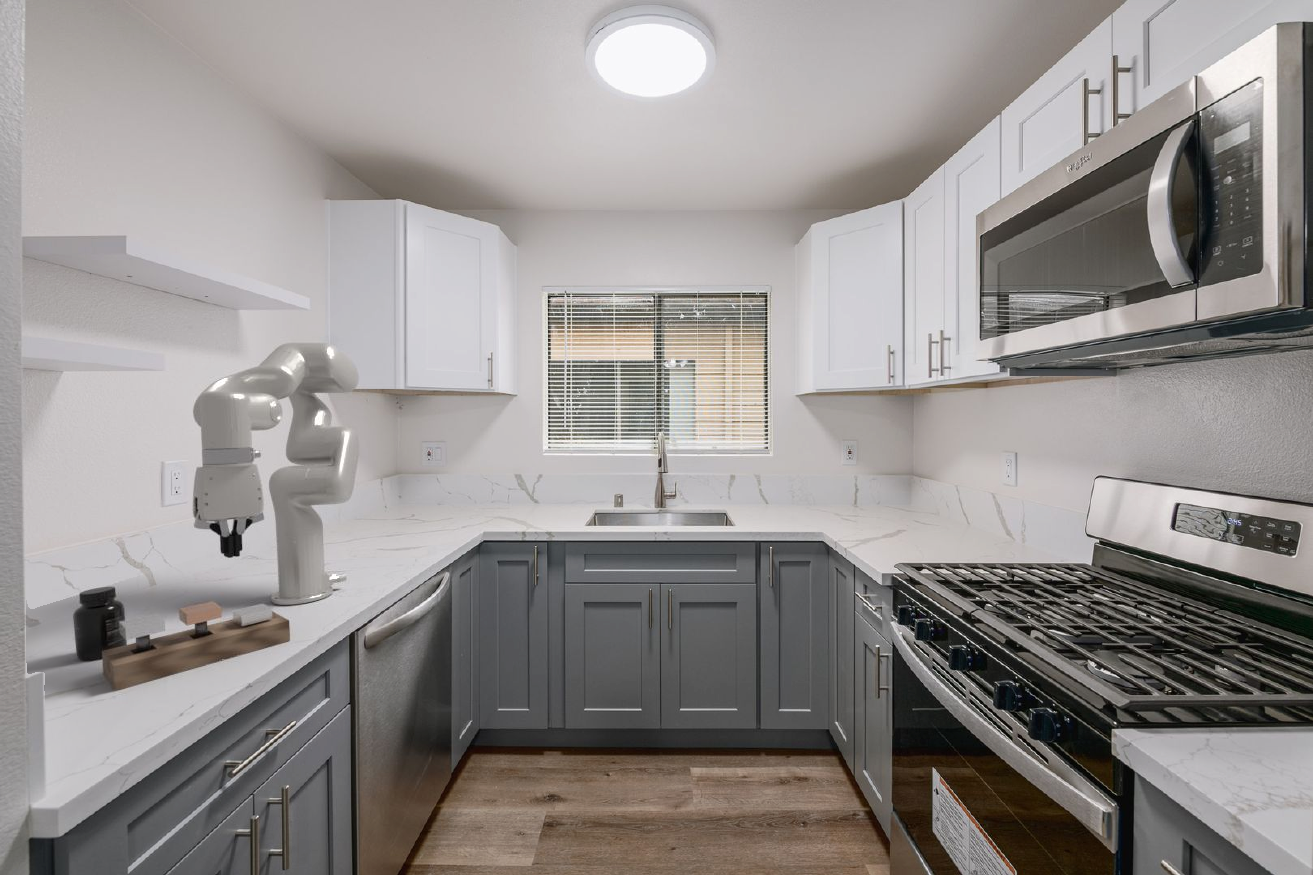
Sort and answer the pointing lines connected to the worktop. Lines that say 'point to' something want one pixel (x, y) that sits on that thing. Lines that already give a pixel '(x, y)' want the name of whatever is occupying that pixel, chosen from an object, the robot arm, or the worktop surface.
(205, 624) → the middle button
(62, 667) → the worktop surface
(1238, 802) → the worktop surface
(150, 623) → the button
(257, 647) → the button panel
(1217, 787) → the worktop surface
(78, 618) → the supplement bottle
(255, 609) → the button
